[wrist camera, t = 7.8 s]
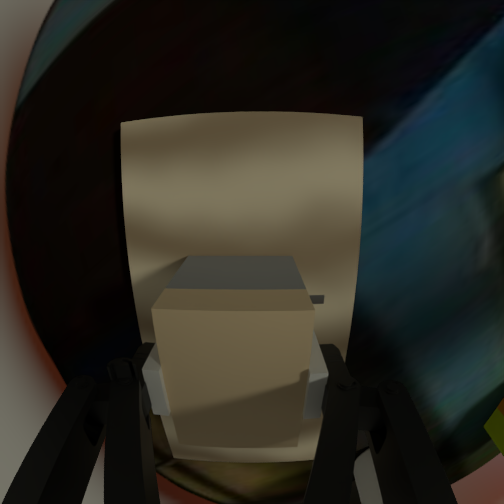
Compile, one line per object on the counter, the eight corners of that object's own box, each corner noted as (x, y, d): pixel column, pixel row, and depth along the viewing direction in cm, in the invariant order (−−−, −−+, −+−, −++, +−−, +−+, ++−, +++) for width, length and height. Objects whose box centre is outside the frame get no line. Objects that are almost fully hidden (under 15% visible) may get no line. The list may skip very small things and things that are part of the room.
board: (127, 124, 16) (120, 122, 15) (356, 119, 16) (362, 117, 15) (175, 450, 24) (173, 457, 23) (321, 450, 24) (323, 458, 23)
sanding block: (188, 255, 17) (151, 308, 11) (292, 255, 17) (315, 310, 11) (198, 367, 20) (179, 444, 13) (286, 368, 20) (297, 446, 13)
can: (411, 430, 23) (452, 518, 12) (403, 461, 25) (433, 538, 14) (351, 449, 24) (379, 547, 12) (350, 477, 26) (371, 561, 14)
